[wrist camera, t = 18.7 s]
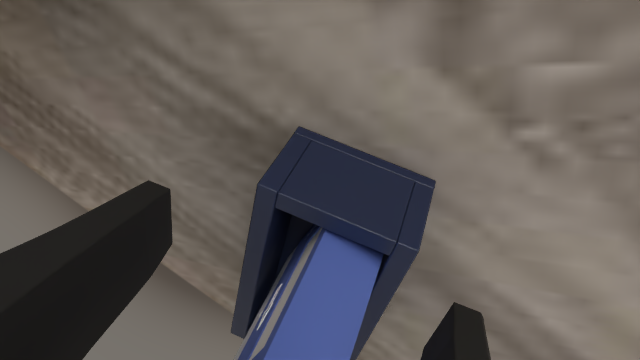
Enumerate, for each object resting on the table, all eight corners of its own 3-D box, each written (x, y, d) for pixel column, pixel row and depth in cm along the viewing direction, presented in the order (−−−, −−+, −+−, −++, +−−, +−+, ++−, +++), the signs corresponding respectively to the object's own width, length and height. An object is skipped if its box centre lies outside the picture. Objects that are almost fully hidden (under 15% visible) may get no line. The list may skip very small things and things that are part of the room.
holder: (264, 273, 30) (230, 332, 26) (298, 125, 22) (256, 183, 18) (363, 316, 29) (341, 384, 25) (436, 180, 21) (419, 251, 18)
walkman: (349, 177, 22) (228, 428, 13) (398, 209, 22) (312, 479, 13) (284, 258, 27) (166, 477, 18) (324, 284, 27) (227, 513, 18)
